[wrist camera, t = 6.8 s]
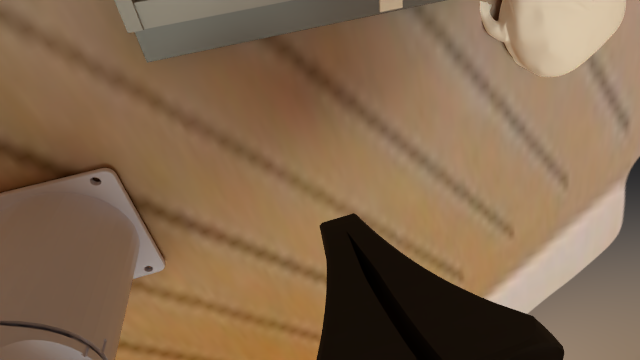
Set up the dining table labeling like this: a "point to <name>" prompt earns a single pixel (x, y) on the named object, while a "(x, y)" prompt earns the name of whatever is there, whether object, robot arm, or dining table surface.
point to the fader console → (236, 20)
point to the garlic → (553, 31)
